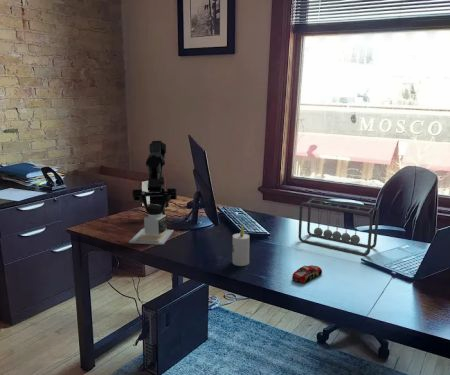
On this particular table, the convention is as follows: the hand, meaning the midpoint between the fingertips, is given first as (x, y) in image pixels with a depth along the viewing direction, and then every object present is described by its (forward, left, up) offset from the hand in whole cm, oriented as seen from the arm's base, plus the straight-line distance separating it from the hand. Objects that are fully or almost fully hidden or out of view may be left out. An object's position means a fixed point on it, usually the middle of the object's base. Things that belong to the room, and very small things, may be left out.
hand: (154, 211), depth 170 cm
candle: (+18, +38, -13) cm, 44 cm away
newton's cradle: (-5, +76, -13) cm, 78 cm away
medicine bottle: (-1, 0, -10) cm, 10 cm away
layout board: (-4, -3, -13) cm, 14 cm away
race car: (+26, +63, -14) cm, 69 cm away
